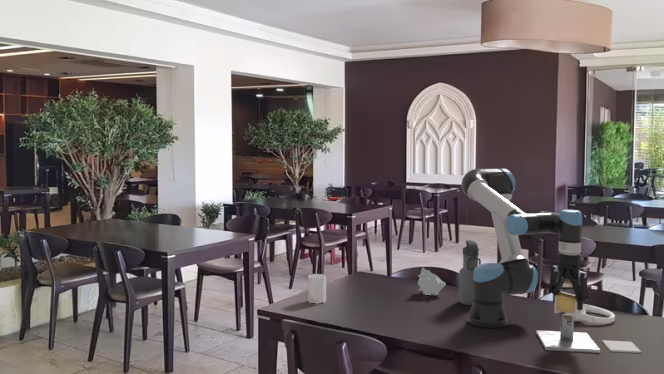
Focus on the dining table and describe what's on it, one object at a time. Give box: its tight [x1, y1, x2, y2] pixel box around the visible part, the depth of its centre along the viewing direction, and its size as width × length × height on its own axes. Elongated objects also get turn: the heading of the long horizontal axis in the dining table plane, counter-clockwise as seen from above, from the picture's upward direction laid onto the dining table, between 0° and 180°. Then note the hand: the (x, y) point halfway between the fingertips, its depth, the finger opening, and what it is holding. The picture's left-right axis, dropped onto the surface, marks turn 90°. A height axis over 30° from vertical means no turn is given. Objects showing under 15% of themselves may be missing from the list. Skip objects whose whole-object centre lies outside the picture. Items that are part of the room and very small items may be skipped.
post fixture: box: [535, 313, 601, 354], centre depth 214 cm, size 18×18×10 cm
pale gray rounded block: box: [307, 273, 327, 303], centre depth 266 cm, size 8×12×12 cm
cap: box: [556, 290, 577, 314], centre depth 213 cm, size 8×8×6 cm
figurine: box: [417, 267, 446, 296], centre depth 281 cm, size 10×15×14 cm
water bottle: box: [458, 239, 482, 307], centre depth 266 cm, size 10×10×28 cm
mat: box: [601, 339, 642, 354], centre depth 210 cm, size 10×10×1 cm
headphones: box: [565, 303, 616, 325], centre depth 244 cm, size 20×8×20 cm
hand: (567, 315), depth 214 cm, fingers closed on cap, 7 cm apart
